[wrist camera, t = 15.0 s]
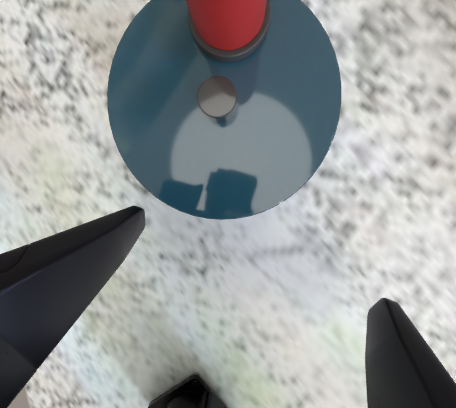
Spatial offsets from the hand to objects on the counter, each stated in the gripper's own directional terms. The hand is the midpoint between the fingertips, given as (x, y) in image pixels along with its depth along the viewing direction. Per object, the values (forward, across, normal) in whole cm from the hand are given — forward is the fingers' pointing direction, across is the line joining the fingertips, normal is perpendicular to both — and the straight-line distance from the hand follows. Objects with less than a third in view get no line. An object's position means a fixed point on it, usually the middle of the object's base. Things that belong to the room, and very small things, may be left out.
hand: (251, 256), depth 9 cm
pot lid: (+9, +5, -2) cm, 10 cm away
